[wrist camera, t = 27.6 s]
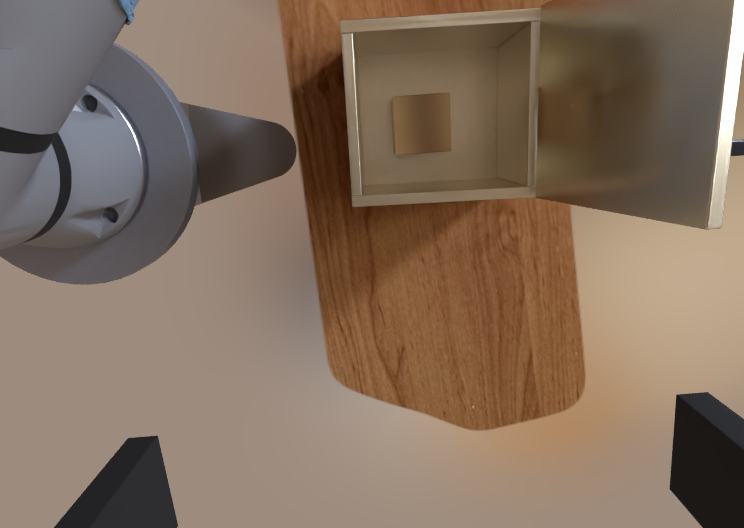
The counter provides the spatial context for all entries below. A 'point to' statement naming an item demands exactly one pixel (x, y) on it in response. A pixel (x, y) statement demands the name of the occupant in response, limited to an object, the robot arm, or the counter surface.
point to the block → (421, 123)
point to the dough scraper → (639, 106)
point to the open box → (467, 104)
